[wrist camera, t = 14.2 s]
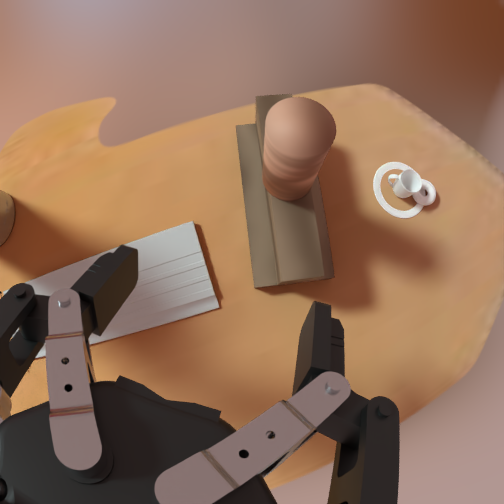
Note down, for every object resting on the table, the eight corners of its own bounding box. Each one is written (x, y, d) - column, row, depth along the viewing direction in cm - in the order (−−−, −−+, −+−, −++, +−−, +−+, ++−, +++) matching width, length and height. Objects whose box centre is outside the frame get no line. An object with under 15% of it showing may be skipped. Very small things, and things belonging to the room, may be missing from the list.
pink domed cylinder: (265, 203, 31) (270, 159, 21) (259, 156, 31) (261, 99, 22) (316, 198, 31) (342, 154, 21) (308, 152, 31) (327, 96, 22)
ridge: (254, 288, 37) (254, 284, 30) (236, 133, 40) (233, 98, 33) (330, 278, 38) (349, 272, 30) (304, 127, 41) (313, 93, 33)
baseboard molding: (223, 319, 38) (194, 223, 39) (221, 320, 35) (190, 217, 36) (27, 370, 36) (9, 292, 38) (16, 373, 33) (-3, 290, 35)
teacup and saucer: (435, 190, 40) (450, 180, 36) (413, 234, 39) (428, 228, 35) (387, 152, 40) (398, 139, 36) (361, 195, 40) (372, 184, 36)
